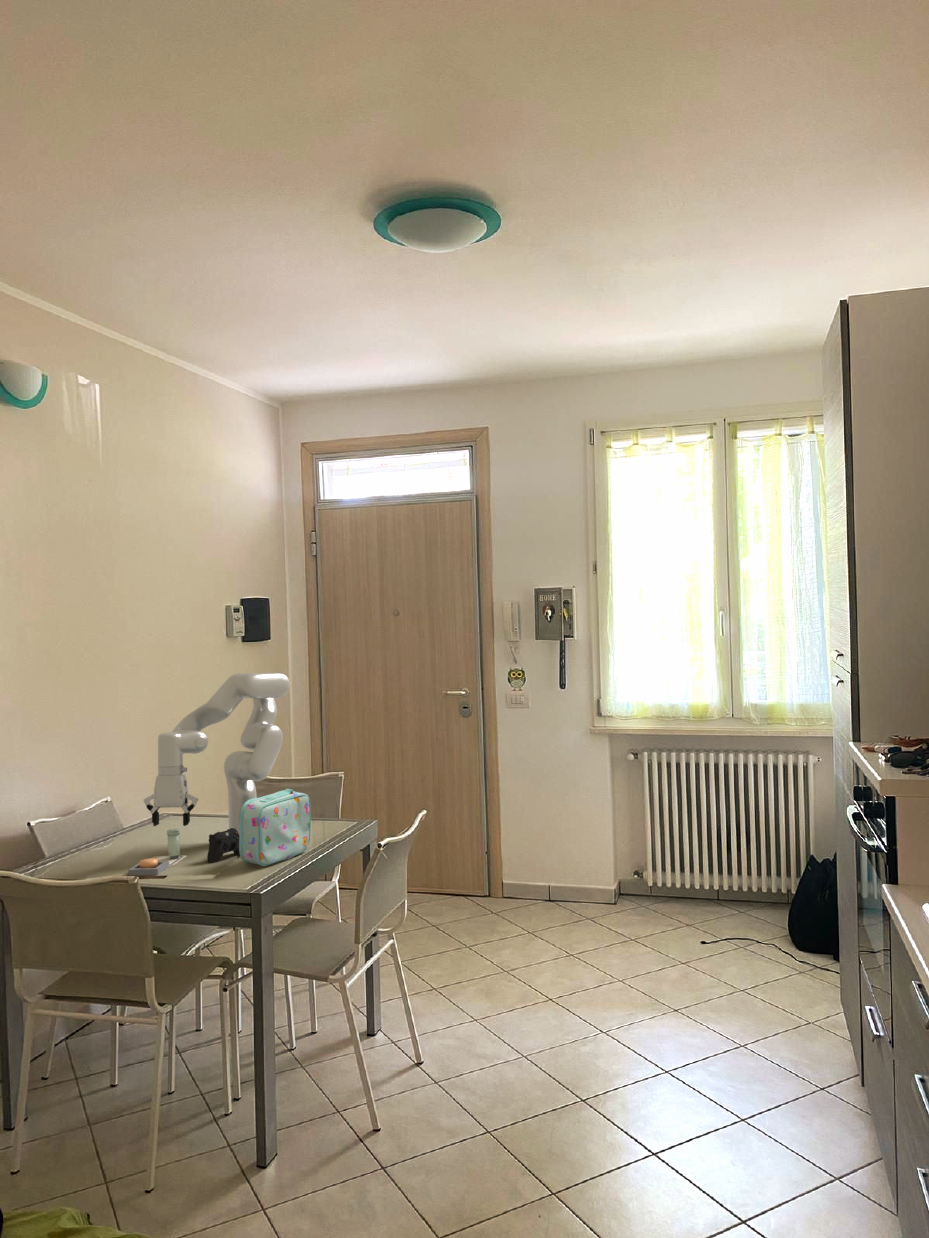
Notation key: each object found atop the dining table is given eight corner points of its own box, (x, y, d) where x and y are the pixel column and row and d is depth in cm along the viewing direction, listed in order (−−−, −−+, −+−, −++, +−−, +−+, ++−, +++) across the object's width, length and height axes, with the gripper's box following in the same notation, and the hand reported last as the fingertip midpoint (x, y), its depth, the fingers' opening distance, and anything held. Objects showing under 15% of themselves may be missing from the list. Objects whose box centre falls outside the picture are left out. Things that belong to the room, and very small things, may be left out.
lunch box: (290, 847, 313) (288, 783, 313) (315, 850, 308) (313, 785, 308) (236, 867, 289) (233, 798, 289) (262, 870, 285) (259, 800, 285)
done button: (160, 863, 288) (160, 857, 288) (154, 868, 282) (153, 862, 282) (143, 864, 288) (143, 858, 288) (137, 868, 283) (136, 862, 283)
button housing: (169, 866, 289) (168, 861, 289) (158, 874, 280) (157, 868, 280) (140, 867, 290) (140, 861, 290) (128, 875, 281) (128, 869, 281)
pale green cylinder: (182, 856, 301) (181, 828, 301) (178, 859, 297) (176, 831, 298) (170, 857, 301) (169, 829, 302) (166, 860, 298) (165, 831, 298)
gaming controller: (216, 867, 290) (215, 835, 290) (202, 865, 294) (201, 833, 294) (249, 857, 302) (248, 826, 302) (235, 855, 306) (234, 824, 306)
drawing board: (191, 857, 304) (191, 854, 304) (164, 878, 280) (163, 874, 280) (152, 858, 304) (152, 855, 304) (121, 879, 280) (121, 875, 280)
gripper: (201, 769, 303) (201, 822, 302) (148, 770, 303) (149, 823, 303) (193, 772, 295) (193, 827, 295) (139, 773, 296) (139, 827, 296)
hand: (171, 825), depth 299 cm, fingers open, 9 cm apart
